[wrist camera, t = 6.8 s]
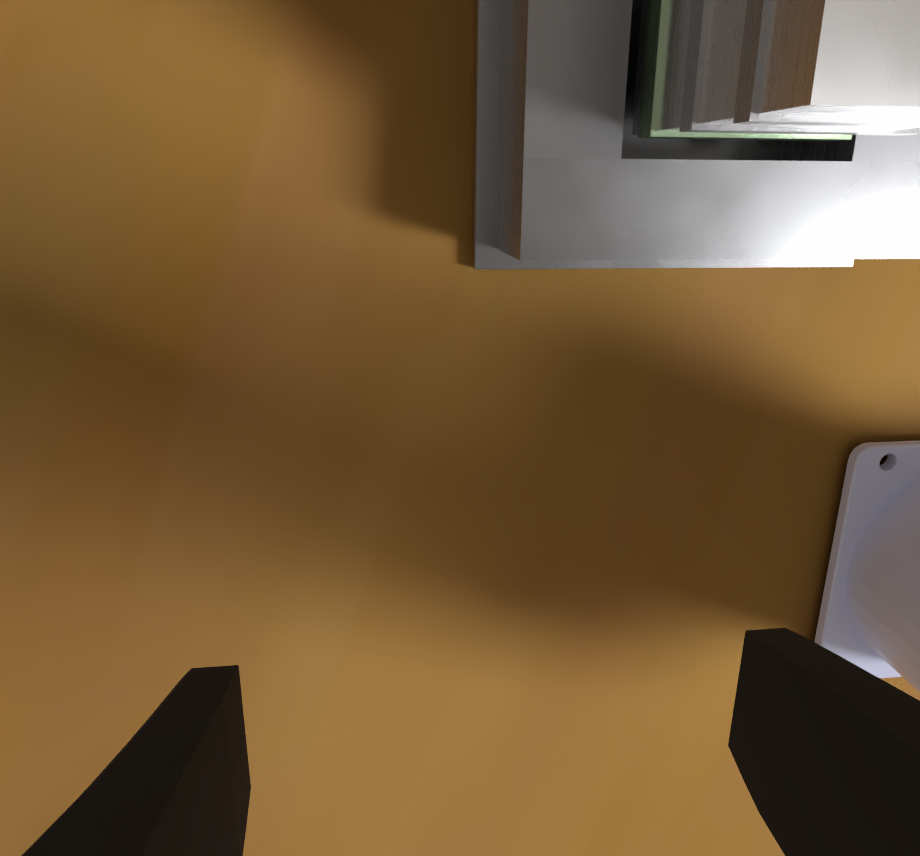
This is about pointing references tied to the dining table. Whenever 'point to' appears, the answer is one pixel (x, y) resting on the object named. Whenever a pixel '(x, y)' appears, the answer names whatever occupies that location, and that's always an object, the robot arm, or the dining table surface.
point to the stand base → (655, 164)
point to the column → (777, 69)
